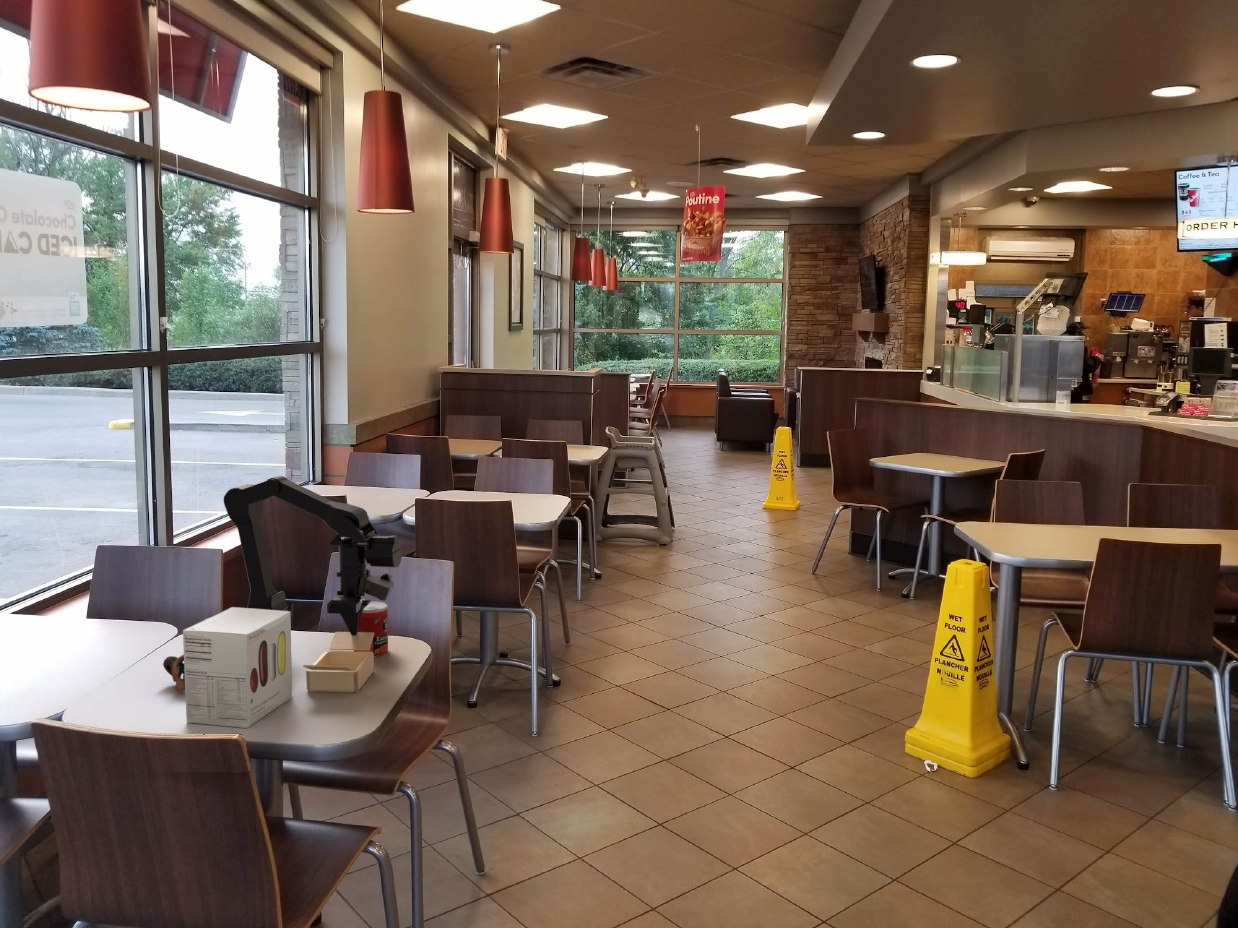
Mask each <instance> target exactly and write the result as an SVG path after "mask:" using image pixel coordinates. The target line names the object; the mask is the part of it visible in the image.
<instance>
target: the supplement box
mask: <svg viewBox="0 0 1238 928" xmlns="http://www.w3.org/2000/svg"><path fill="white" fill-rule="evenodd" d="M291 616H292V615H291V611H290V610H289V611H288V610H286V611H279V610H266V609H253V608H248V607H235V606H231V607H229V608H227V609H225V610H223V611H221V612H219V613H217V614H214V615H213V616H212V615H211V616H210V617H208V618H206V619H204V620H202V621H200V622H197V623H195V624H193V625H192V626H189V627H186V628H185V629H183V630H182V639H183V640H182V641H183V655H184V661H183V663H184V670H185V690H184V692H185V711H186V712H185V714H186V715H185V716H186V723H189V724H191V723H192V724H203V725H209V726H210V725H212V726H213V725H214V726H223V727H232V728H242V729H249V727H251V726H252V725H253V724H255V723H257V722H258V721H259V720H261V719H262V718H264V717H265V716H266V715H268V714H270V713H271V712H272V711H274V710H275V709H277V708H278V707H280V706H281V705H283V704H284V703H286V702H287V701H289V700H290V699H292V698H293V675H292V674H293V673H292V672H293V670H292V669H293V667H292V664H293V663H292V660H293V659H292V630H291V629H292V628H291V625H292V623H291Z"/></svg>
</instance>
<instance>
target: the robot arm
mask: <svg viewBox="0 0 1238 928" xmlns="http://www.w3.org/2000/svg"><path fill="white" fill-rule="evenodd" d="M272 497H274V498H277V499H279V500H281V501H284V502H286V503H287V504H290V505H292V506H294V507H296V508H298V509H299V510H303V511H304V512H306V513H309V514H310V515H313V516H315V517H317V518H319V519H321V520H322V521H323V522H324V523H325V524H326V525H327V527H328V528H329V529H331V530H332V531H334V532H335V533H336V535H335V537H334V538H333V539H332V540H331V541H330V542H329V543H328V545H329V546H336V547H337V546H338V557H339V558H338V559H339V561H338V563H339V565H338V568H339V569H338V571H336V577H337V578H339V588H338V590H337V591H336V593H337V594H336V596H334V597H333V598H332V599H331V600H330V601H328V603H327V604H326V613H328V614H336V615H337V614H338V615H339V614H340V617H341V619H342V620H343V622H344V624H345V625H346V628H347V629H348V632H350V633H351V635H357V633H358V628H359V624H360V620H361V616H362V612H363V609H364V608H365V607H366V606H367V605H368V604H369V603H370V602H372V601H371V600H369V599H368V600H367V599H365V597H366V595H369V596H371V597H374V598H376V599H378V600H380V601H383V602H385V601H387V600H388V599H389V598H390V596H391V593H392V591H393V588H394V583H395V582H394V581H393V580H392V575H391V574H389V573H387V572H384V573H383V574H382V575H381V576H380V577H379V575H376V576H374V575H372V574H371V569H370V568H369V567H367V565H370V567H378V568H379V567H380V568H381V567H382V568H399V566H400V565H401V562H402V557H403V549H402V547H401V543H400V541H398V540H399V538H398V537H399V536H398V535H380V533H379V532H378V530H377V529H376V528H375V526H374V525H373V524H372V522H371V521H370V518H369V515H368V512H367V511H366V509H364V508H363V507H360V506H357V505H353V504H350V503H344V502H337V501H333V500H331V499H329V498H326V497H325V496H322V495H320V494H318V493H316V492H314V491H312V490H310V489H308V488H306V487H304V486H302V485H300V484H298V483H296V482H294V481H291V480H289V479H288V478H287V477H286V476H282V475H277V476H273V477H270V478H268V479H267V480H265V481H262V482H259V483H257V484H253V483H252V484H251V483H246V484H244V485H240V486H236V487H233V488H230V489H229V490H227V492H226V493H225V494H224V495H223V504H224V508H225V510H226V513H227V516H228V518H229V519H230V520H231V522H232V523H233V524H234V526H235V528H236V529H237V531H238V536H239V542H240V546H241V550H242V555H243V560H244V566H245V570H246V574H247V579H248V584H249V585H248V586H249V589H250V591H249V593H250V594H249V596H248V602H247V608H253V609H266V610H279V611H287V609H288V608H289V605H288V603H287V602H286V592H285V591H284V590H281V591H278V590H277V588H276V587H275V586H274V584H273V579H272V574H271V569H270V565H269V564H270V563H269V559H268V554H267V550H266V543H265V539H264V535H263V530H262V525H261V521H262V517H263V512H264V501H265V500H268V499H270V498H272Z"/></svg>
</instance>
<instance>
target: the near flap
mask: <svg viewBox="0 0 1238 928" xmlns="http://www.w3.org/2000/svg"><path fill="white" fill-rule="evenodd" d="M302 667H303V668H304V669H306V670H307V669H310V670H343V671H353V669H351V668H350V667H348V666H330V665H312V664H303V665H302Z"/></svg>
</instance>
